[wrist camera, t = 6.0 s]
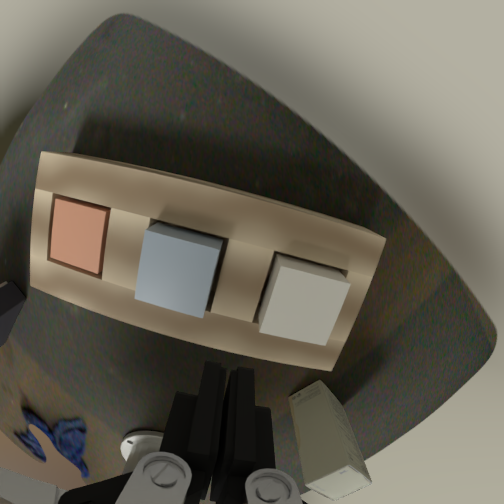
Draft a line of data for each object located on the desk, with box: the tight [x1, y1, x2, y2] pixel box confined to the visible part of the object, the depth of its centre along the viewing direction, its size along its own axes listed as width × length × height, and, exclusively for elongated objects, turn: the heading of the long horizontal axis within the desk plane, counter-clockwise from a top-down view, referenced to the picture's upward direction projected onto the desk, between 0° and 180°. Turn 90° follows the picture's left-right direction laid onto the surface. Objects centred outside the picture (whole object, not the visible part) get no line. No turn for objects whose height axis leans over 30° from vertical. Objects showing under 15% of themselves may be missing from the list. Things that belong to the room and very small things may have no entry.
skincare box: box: [288, 380, 372, 500], centre depth 25 cm, size 6×4×12 cm
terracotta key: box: [50, 196, 111, 274], centre depth 22 cm, size 5×5×3 cm
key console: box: [30, 151, 386, 371], centre depth 24 cm, size 12×28×5 cm, turn 75°
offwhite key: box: [258, 254, 351, 346], centre depth 21 cm, size 5×5×3 cm
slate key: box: [134, 222, 224, 318], centre depth 21 cm, size 5×5×3 cm
